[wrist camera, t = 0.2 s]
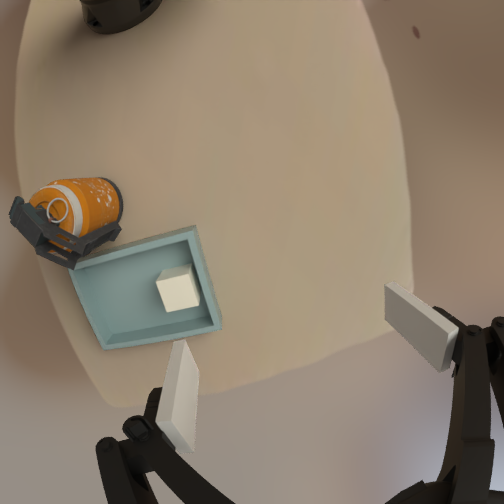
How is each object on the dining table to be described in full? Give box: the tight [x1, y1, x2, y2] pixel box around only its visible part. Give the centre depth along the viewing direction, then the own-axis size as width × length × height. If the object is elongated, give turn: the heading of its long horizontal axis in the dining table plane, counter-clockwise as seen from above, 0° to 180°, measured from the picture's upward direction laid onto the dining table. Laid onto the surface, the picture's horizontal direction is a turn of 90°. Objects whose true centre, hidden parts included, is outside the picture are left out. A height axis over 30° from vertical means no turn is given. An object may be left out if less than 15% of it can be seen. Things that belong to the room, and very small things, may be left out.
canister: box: [9, 178, 123, 270], centre depth 30 cm, size 9×11×20 cm
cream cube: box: [156, 263, 201, 312], centre depth 40 cm, size 5×5×5 cm
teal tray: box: [67, 225, 222, 350], centre depth 41 cm, size 16×22×4 cm
